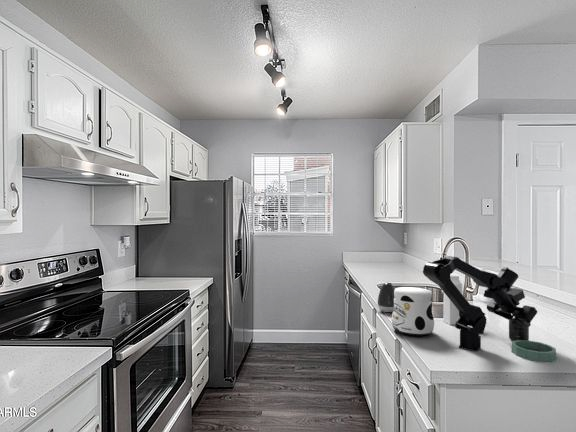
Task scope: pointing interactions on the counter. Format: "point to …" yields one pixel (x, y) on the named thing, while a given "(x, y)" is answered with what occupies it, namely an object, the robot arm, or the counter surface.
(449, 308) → the milk
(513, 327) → the supplement bottle
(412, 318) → the milk container
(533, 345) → the cup
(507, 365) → the counter surface
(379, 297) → the black canister
